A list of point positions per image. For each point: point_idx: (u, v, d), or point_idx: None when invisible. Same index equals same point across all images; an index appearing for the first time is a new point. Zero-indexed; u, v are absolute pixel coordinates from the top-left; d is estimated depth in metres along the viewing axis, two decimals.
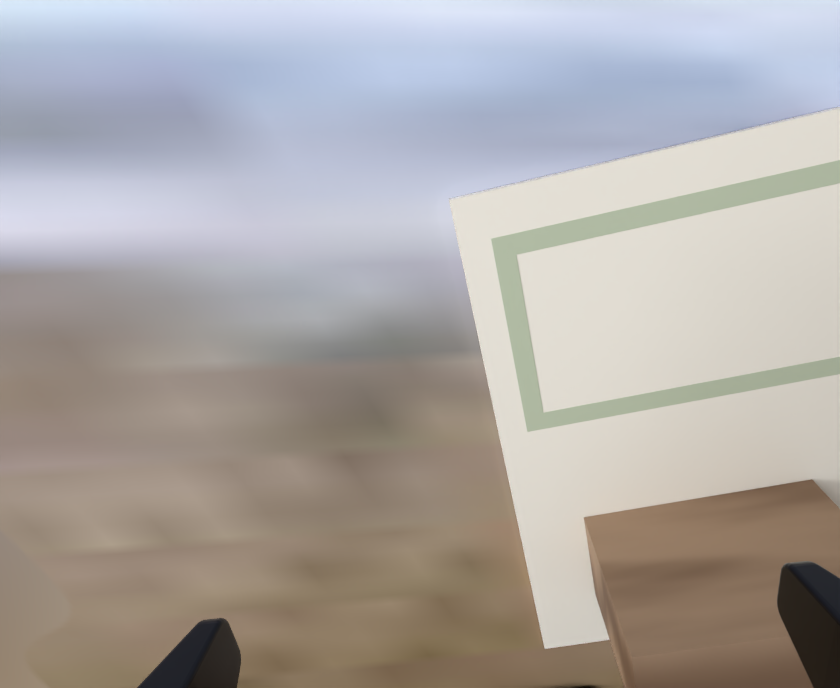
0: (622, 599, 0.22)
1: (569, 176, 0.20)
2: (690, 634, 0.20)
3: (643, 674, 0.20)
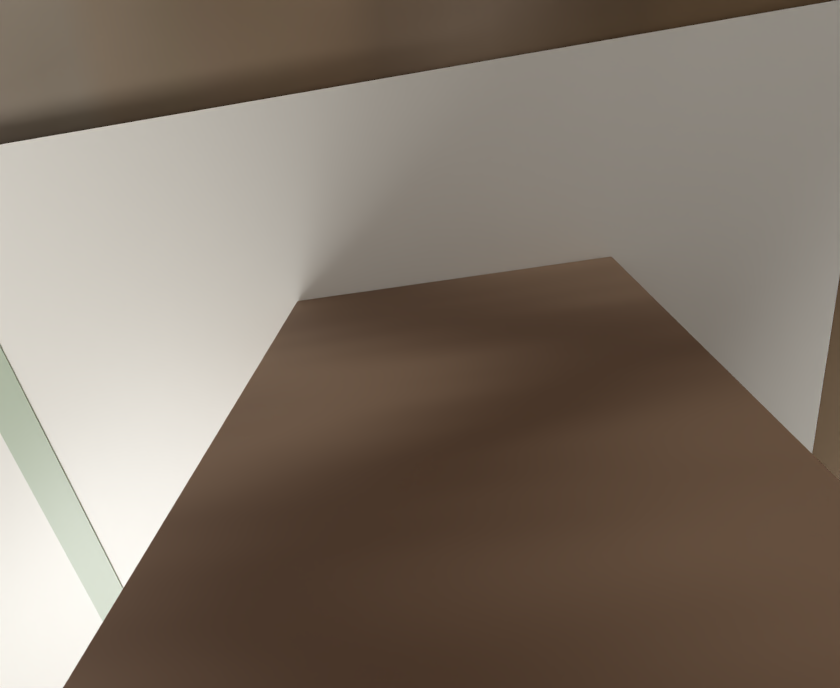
0: None
1: None
2: None
3: None
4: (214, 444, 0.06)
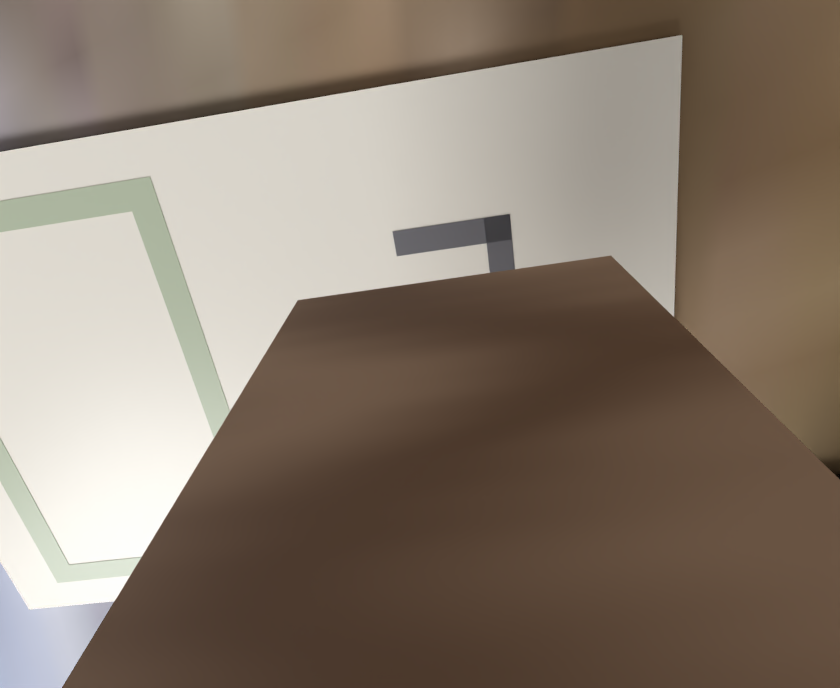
0: None
1: None
2: None
3: None
4: (214, 442, 0.06)
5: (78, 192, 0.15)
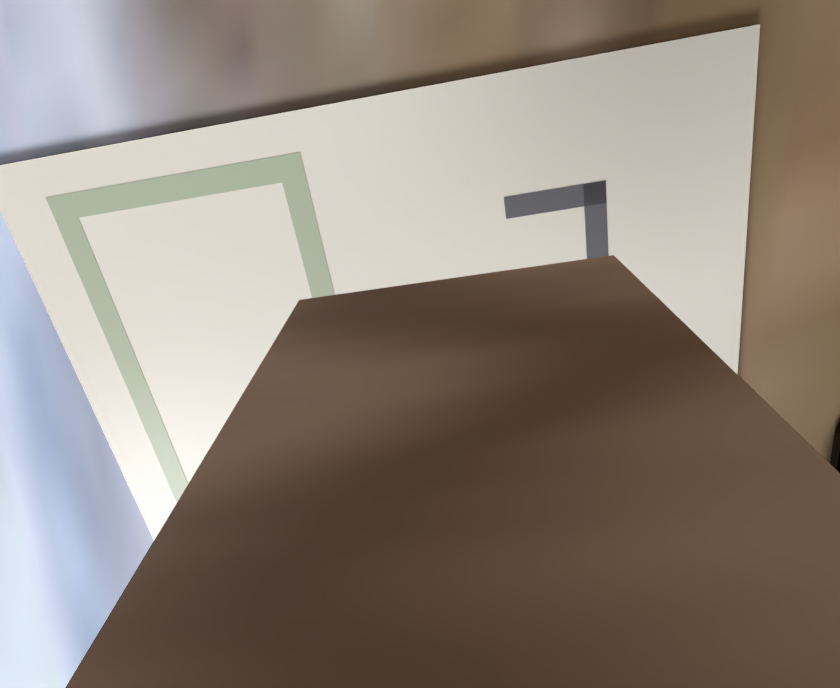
0: None
1: (123, 465, 0.23)
2: None
3: None
4: (217, 442, 0.06)
5: (238, 166, 0.18)
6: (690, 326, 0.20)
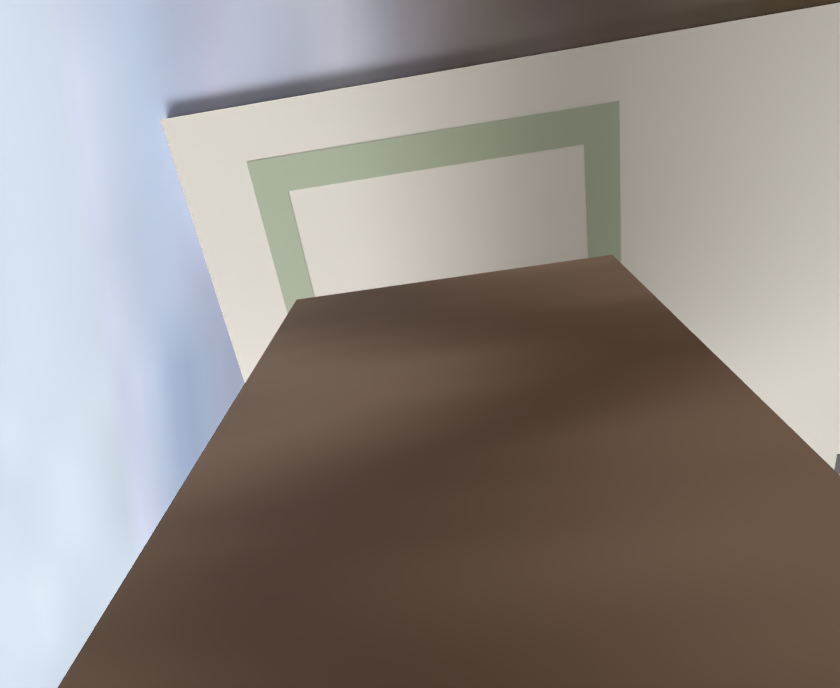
0: None
1: None
2: None
3: None
4: (211, 443, 0.06)
5: (527, 120, 0.13)
6: None
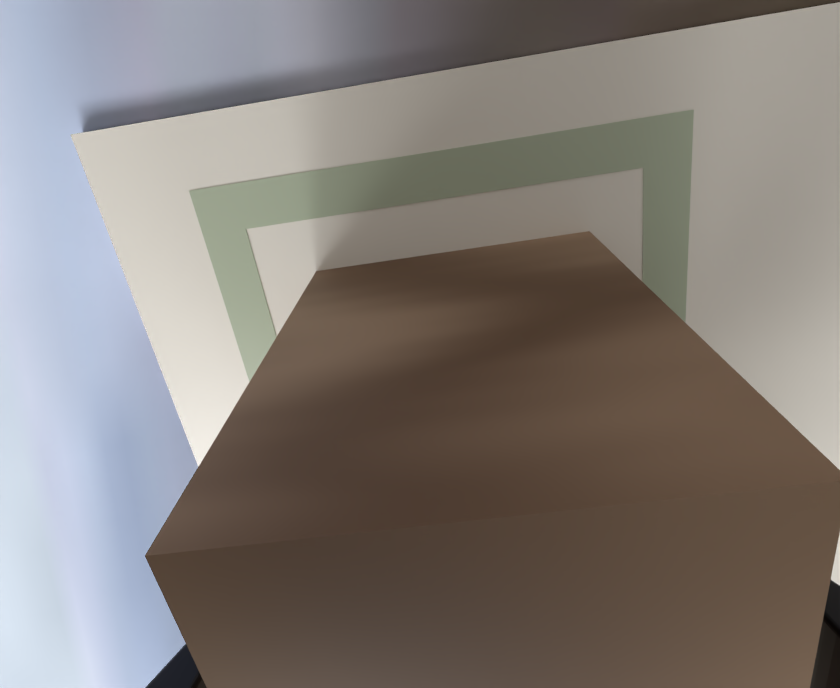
0: None
1: None
2: None
3: None
4: (259, 370, 0.07)
5: (567, 136, 0.10)
6: None
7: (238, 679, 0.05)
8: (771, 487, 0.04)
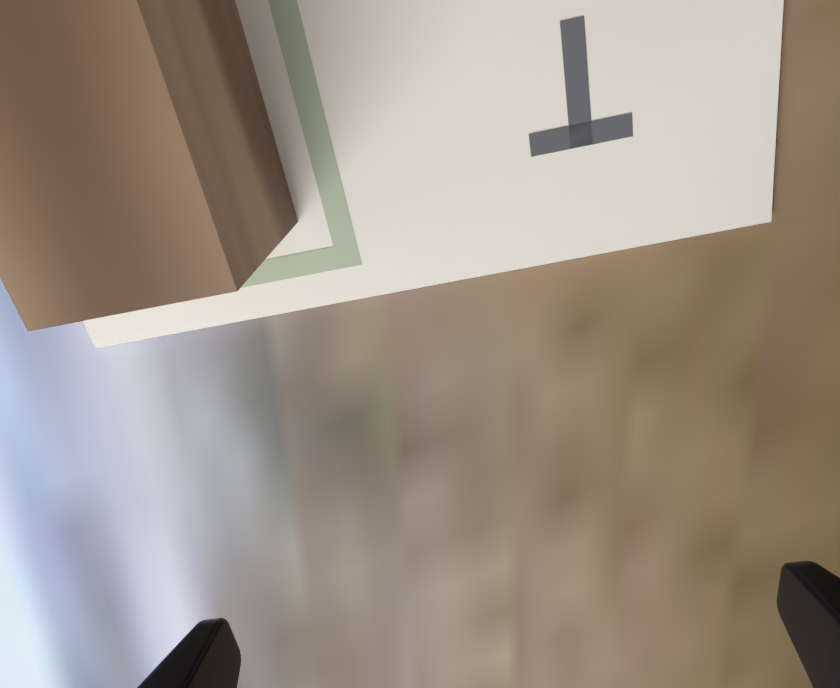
0: None
1: None
2: None
3: (62, 310, 0.13)
4: None
5: None
6: None
7: None
8: None
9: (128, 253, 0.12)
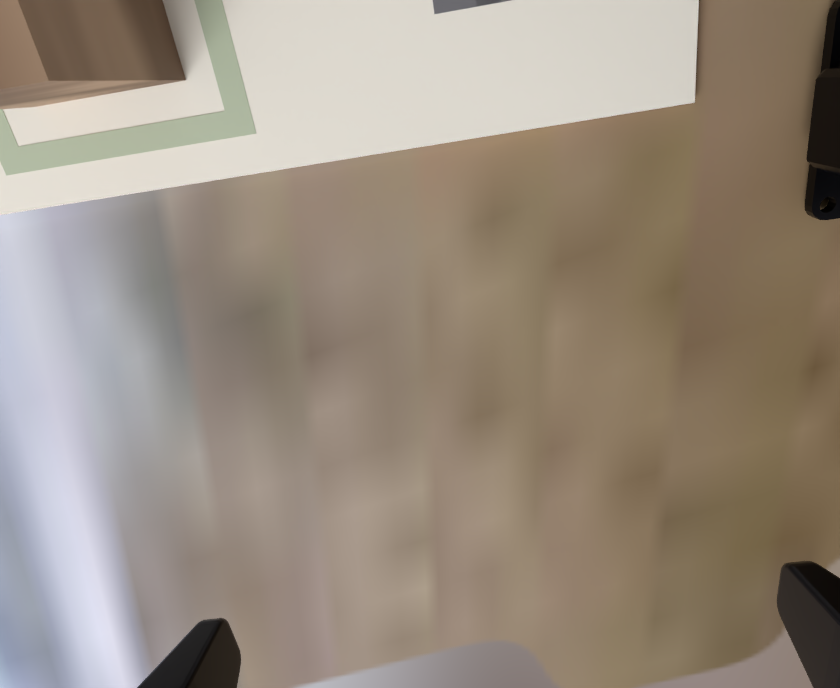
0: None
1: None
2: None
3: None
4: None
5: None
6: None
7: None
8: None
9: None
